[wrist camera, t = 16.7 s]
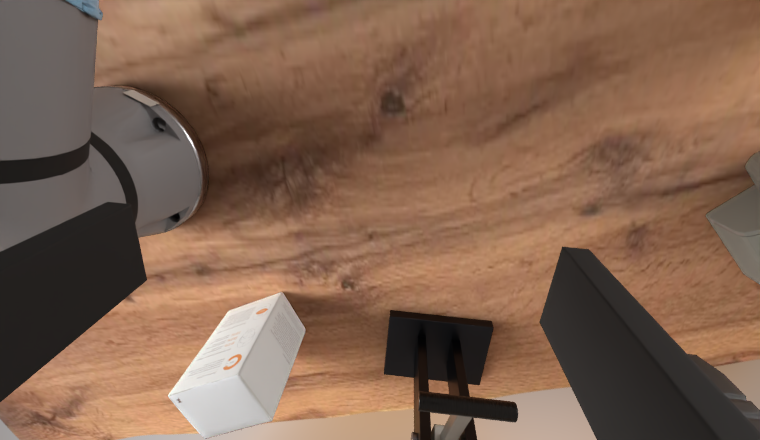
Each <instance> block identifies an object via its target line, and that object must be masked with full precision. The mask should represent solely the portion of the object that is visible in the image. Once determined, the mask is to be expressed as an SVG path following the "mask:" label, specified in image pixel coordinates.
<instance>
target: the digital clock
mask: <svg viewBox="0 0 760 440" xmlns="http://www.w3.org/2000/svg"><path fill="white" fill-rule="evenodd" d="M745 169H746V170H747V172H748V174H749V175H750V177H751V179H752V181H753V182H754V184H755V185H753V186H752V187H750V188H748V189H747V190H745V191H743V192H742V193H740V194H738V195H737V196H735V197H733V198H732V199H730V200H728V201H727V202H725V203H723V204H722V205H720V206H718V207H717V208H715V209H713V210H712V211H710V212H708V213H707V214H706V217H707V219H708V220H709V222H710V223H711V225H712V226H713V228H714V230H715V231H716V233H717V234H718V236H719V237H720V239H721V240H722V242H723V243H724V245H725V246H726V248H727V249H728V251H729V252H730V254H731V255H732V257H733V259H734V260H735V262H736V263H737V265H738V266H739V268H740V269H741V271H742V272H743V274H744V275H746V276H747V277H749V278H750V279H752V280H753V281H755V282H757V283H758V284H760V151H759V152H757V153H755V154H754V155H752V156H751V157H750V158H749V160H748V161H747V163H746V165H745Z"/></svg>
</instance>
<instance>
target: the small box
mask: <svg viewBox="0 0 760 440" xmlns="http://www.w3.org/2000/svg"><path fill="white" fill-rule="evenodd" d="M305 332H306V329H305V327H304V326H303V324H302V322H301V321H300V319H299V318H298V316H297V314H296V313H295V311H294V310H293V308H292V306H291V305H290V303H289V301H288V300H287V298H286V297H285V295H284V294H283V292H280V293H277V294H274V295H271V296H269V297H266V298H263V299H260V300H257V301H254V302H252V303H249V304H246V305H243V306H241V307H238V308H235V309H232V310H229V311H228V312H227V314H226V315H225V317H224V318H223V320H222V321H221V322H220V324H219V325H218V327H217V328H216V329H215V331H214V332H213V334H212V335H211V336H210V338H209V339H208V341H207V342H206V343H205V345H204V346H203V348H202V349H201V350H200V352H199V353H198V354H197V356H196V357H195V359H194V360H193V361H192V363H191V364H190V366H189V367H188V368H187V370H186V371H185V373H184V374H183V375H182V377H181V378H180V380H179V381H178V382H177V384H176V385H175V387H174V388H173V389H172V391H171V392H170V394H169V395H168V397H169V398H170V399H171V401H172V402H173V403H174V404H175V406H176V407H177V408H178V409H179V411H180V412H181V413H182V414H183V415H184V416H185V418H186V419H187V420H188V421H189V422H190V423H191V424H192V426H193V427H194V428H195V429H196V430H197V431H198V432H199V434H200V435H201V436H202V437H203V438H204V439H207V438H210V437H214V436H218V435H221V434H225V433H229V432H233V431H236V430H240V429H244V428H247V427H251V426H255V425H259V424H263V423H266V422H270V421H272V420H273V417H274V414H275V412H276V409H277V406H278V404H279V401H280V398H281V396H282V393H283V390H284V388H285V385H286V382H287V380H288V377H289V374H290V372H291V369H292V366H293V364H294V361H295V358H296V356H297V353H298V350H299V348H300V345H301V342H302V340H303V337H304V334H305Z"/></svg>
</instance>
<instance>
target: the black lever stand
mask: <svg viewBox="0 0 760 440" xmlns="http://www.w3.org/2000/svg"><path fill="white" fill-rule="evenodd" d="M492 332H493V324H492V321H485V320H475V319H466V318H457V317H448V316H438V315H429V314H420V313H411V312H401V311H392V310H391V311H390V318H389V328H388V338H387V348H386V357H385V367H384V374H386V375H395V376H404V377H412V378H414V432H412V434H411V440H431V422H430V412H423V411H418V409H417V401H418V393H419V391H424V392H429V384H428V379H430V380H438V381H447V382H448V387H449V394H450V395H459V396H467V397H470V396H469V390H468V384H473V385H480V381H481V377H482V373H483V369H484V365H485V361H486V357H487V353H488V348H489V344H490V340H491V336H492ZM459 440H477V436H476V430H475V425H474V419H473V417H472V419H471V420H470V422H469V423H468V425H467V426H466V428H465V429H464V431H463V432H462V434H461V435H460V437H459Z"/></svg>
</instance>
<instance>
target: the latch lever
mask: <svg viewBox="0 0 760 440" xmlns="http://www.w3.org/2000/svg"><path fill="white" fill-rule="evenodd" d="M417 409H418V411H423V412H432V413H440V414H449V415H450V417H449V419H448V421H447V423H446V424H445V425H436V424H435V425H434V427H433V429H432V431H431V440H459V437H460V435H461V434H462V432H463V431H464V429H465V428H466V426H467V425H468V423H469V422H470V420H471V419H472V417H474V418H482V419H490V420H499V421H507V422H516V421H517V418H518V409H517V405H516V403H515V402H510V401H501V400H492V399H484V398H476V397H467V396H459V395H450V394H441V393H433V392H424V391H419V393H418V401H417Z"/></svg>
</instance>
